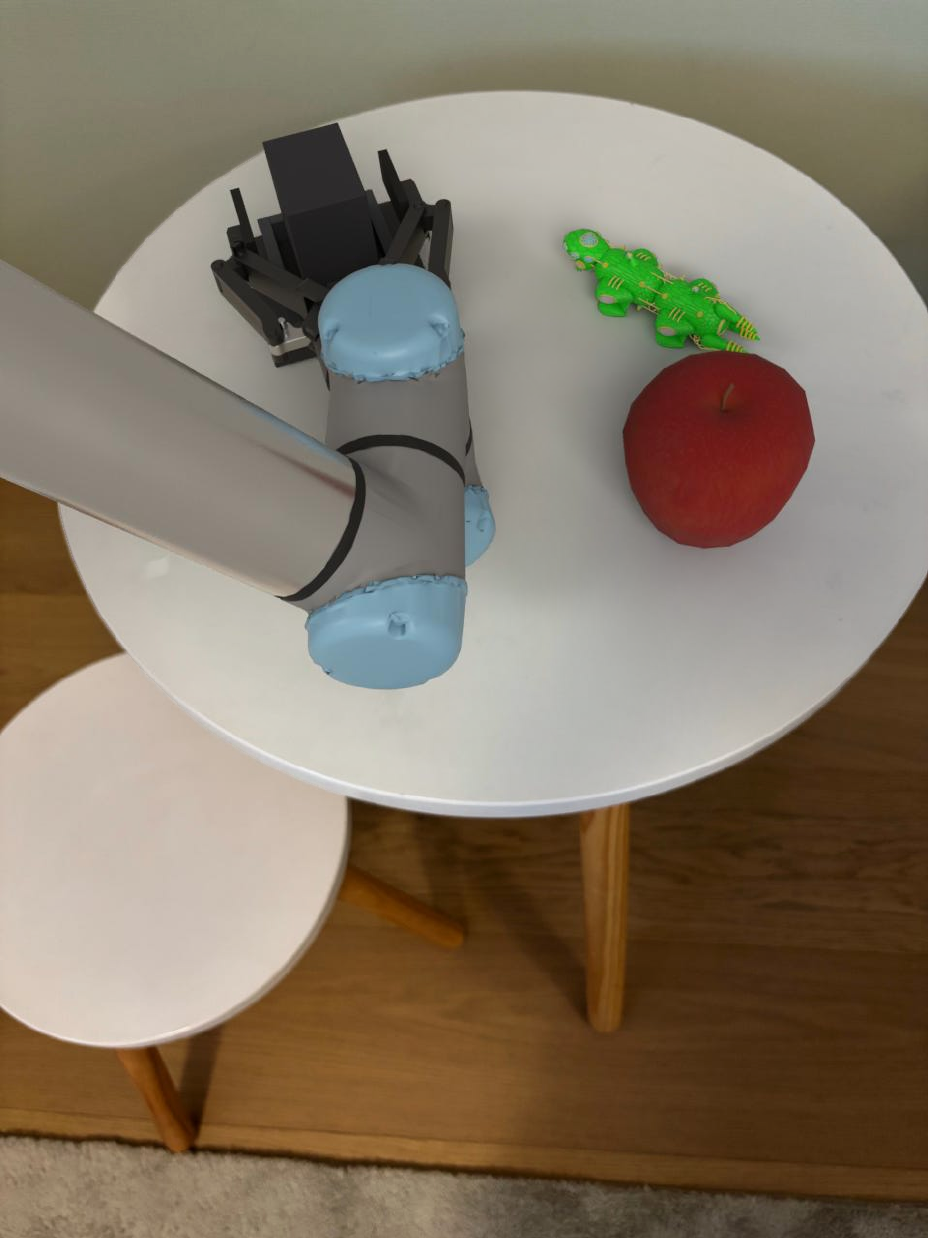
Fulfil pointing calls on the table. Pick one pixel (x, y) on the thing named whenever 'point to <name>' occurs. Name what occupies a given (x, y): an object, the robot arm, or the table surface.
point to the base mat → (279, 252)
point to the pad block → (322, 203)
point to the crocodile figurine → (657, 294)
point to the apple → (717, 446)
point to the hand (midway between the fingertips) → (312, 183)
